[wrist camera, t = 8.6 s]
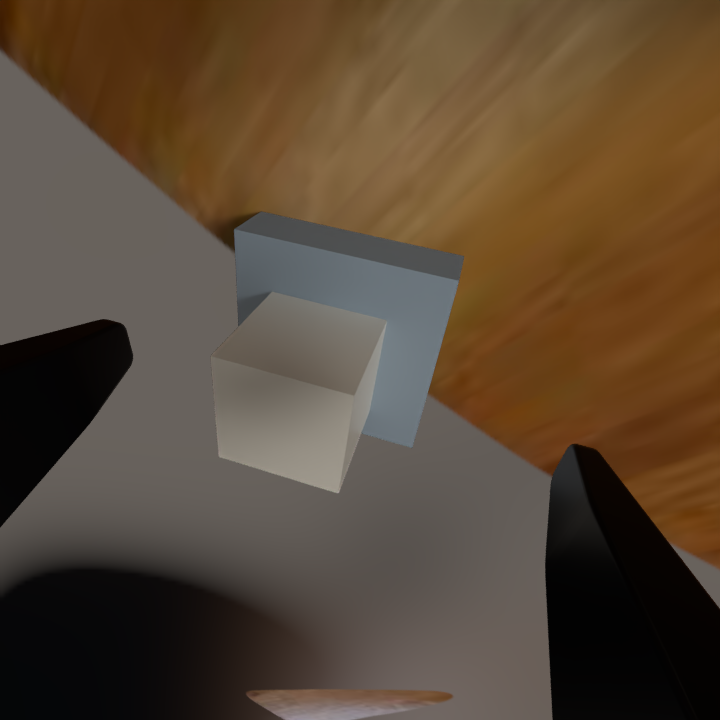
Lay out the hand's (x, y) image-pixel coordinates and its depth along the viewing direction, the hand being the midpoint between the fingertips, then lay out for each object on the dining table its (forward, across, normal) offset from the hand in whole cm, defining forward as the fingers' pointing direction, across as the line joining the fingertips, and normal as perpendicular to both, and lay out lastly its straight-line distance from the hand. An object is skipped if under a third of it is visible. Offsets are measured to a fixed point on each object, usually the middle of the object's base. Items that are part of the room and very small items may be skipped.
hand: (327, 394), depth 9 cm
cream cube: (+9, +3, +6) cm, 11 cm away
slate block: (+12, +3, +6) cm, 14 cm away
